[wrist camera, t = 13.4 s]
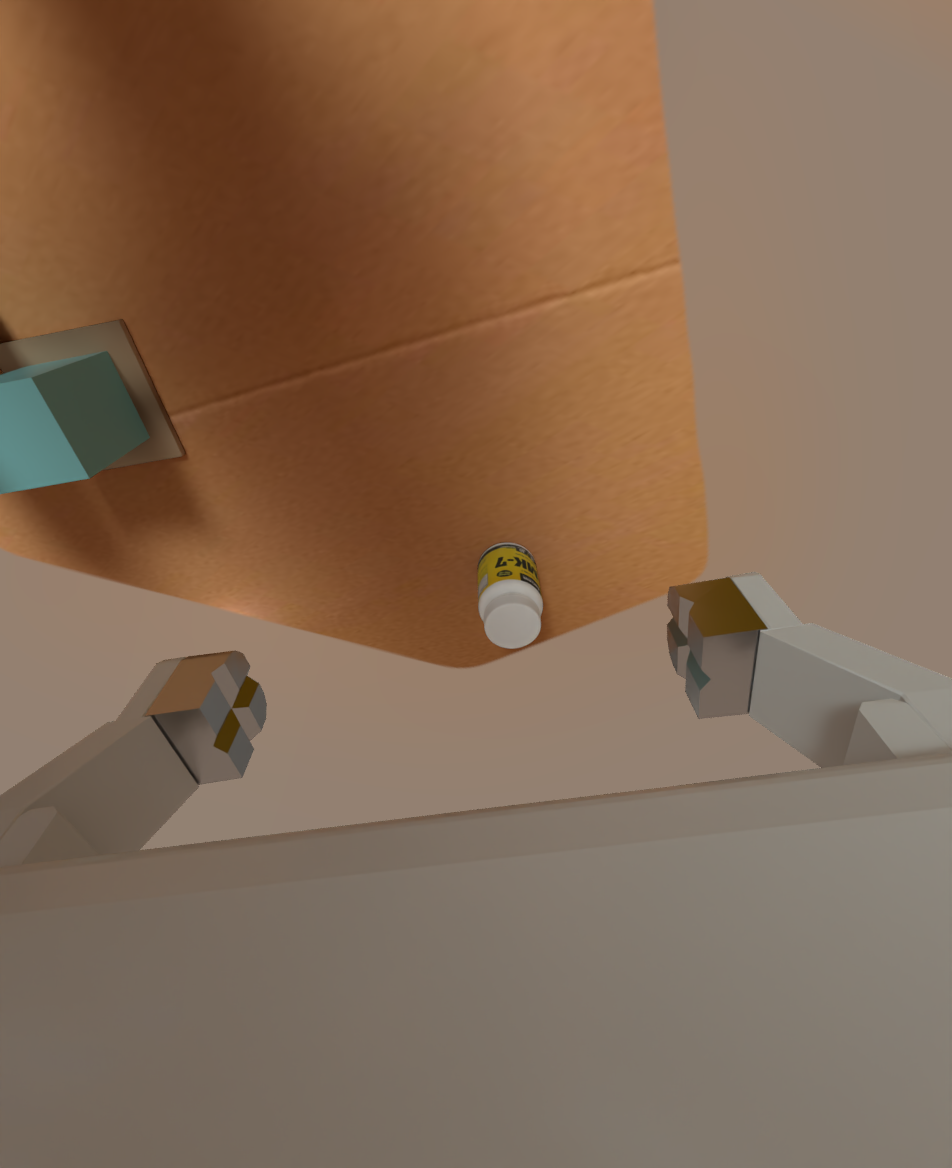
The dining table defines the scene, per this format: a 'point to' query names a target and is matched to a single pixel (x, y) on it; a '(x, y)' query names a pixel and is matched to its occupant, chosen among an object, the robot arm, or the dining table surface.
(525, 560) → the supplement bottle
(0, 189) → the dining table surface
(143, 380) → the flat square base
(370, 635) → the dining table surface
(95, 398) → the teal rectangular block
